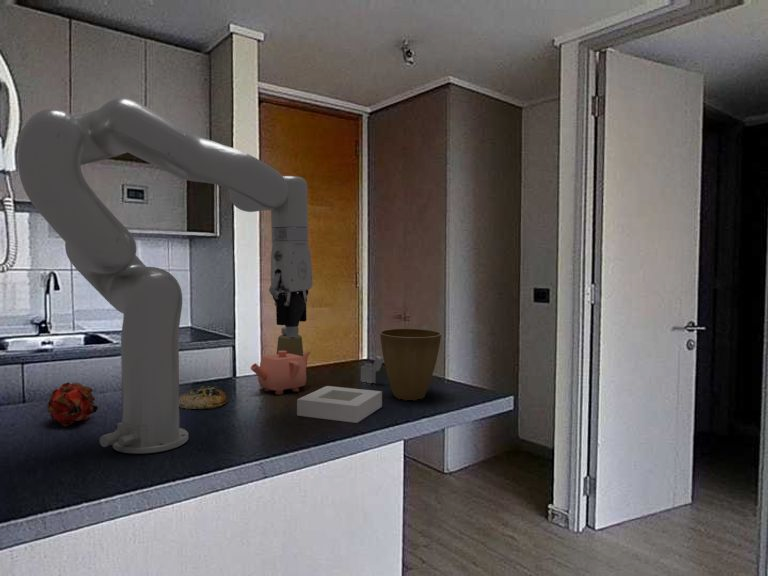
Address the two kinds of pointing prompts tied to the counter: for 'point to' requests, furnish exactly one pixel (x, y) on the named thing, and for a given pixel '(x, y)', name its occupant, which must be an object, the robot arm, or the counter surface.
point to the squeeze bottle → (290, 344)
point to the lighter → (371, 370)
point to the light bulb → (295, 314)
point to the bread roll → (203, 398)
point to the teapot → (282, 371)
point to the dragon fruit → (71, 403)
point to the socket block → (339, 404)
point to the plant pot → (410, 360)
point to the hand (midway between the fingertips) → (291, 322)
